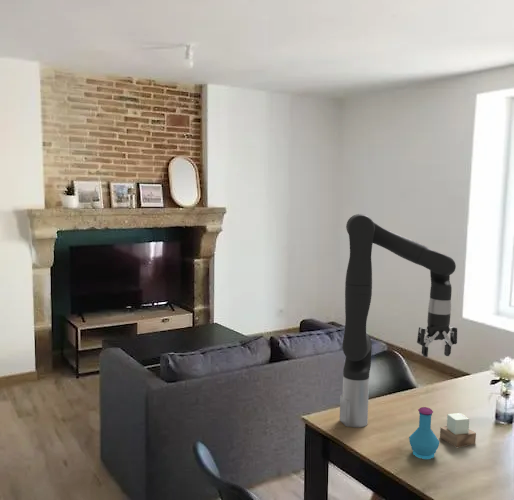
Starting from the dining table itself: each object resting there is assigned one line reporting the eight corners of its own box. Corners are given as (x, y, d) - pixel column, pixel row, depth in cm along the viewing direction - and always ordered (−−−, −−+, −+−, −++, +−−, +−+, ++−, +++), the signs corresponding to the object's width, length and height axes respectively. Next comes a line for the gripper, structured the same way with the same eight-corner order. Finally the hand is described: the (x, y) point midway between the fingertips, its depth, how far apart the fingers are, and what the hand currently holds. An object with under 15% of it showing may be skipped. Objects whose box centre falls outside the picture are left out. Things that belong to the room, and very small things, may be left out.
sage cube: (455, 434, 185) (455, 420, 184) (446, 428, 190) (447, 414, 189) (468, 433, 186) (469, 418, 185) (459, 427, 191) (460, 412, 190)
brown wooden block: (456, 448, 184) (457, 436, 183) (439, 438, 191) (440, 427, 190) (475, 444, 187) (475, 433, 186) (458, 434, 194) (458, 423, 194)
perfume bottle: (434, 464, 172) (436, 417, 171) (404, 456, 177) (406, 410, 175) (441, 452, 180) (444, 407, 178) (413, 445, 185) (415, 401, 183)
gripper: (426, 314, 190) (423, 360, 192) (463, 313, 194) (460, 358, 195) (415, 309, 198) (412, 353, 199) (451, 308, 201) (448, 352, 203)
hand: (436, 356), depth 197 cm, fingers open, 8 cm apart
